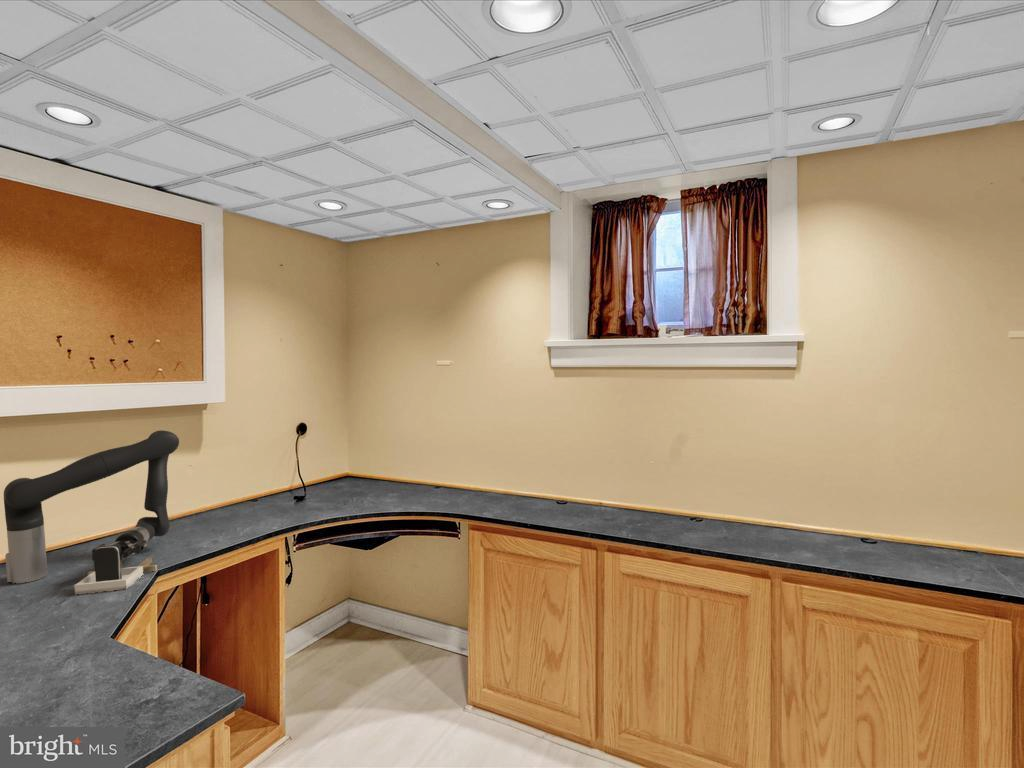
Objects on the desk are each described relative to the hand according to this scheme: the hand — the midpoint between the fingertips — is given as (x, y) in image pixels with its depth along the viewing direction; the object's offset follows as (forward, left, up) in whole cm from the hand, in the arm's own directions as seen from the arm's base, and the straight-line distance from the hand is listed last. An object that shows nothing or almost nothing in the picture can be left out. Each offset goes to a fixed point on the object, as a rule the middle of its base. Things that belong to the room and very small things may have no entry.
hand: (109, 556), depth 176 cm
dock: (0, +12, -9) cm, 15 cm away
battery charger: (0, 0, -8) cm, 8 cm away
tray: (0, 0, -9) cm, 9 cm away
